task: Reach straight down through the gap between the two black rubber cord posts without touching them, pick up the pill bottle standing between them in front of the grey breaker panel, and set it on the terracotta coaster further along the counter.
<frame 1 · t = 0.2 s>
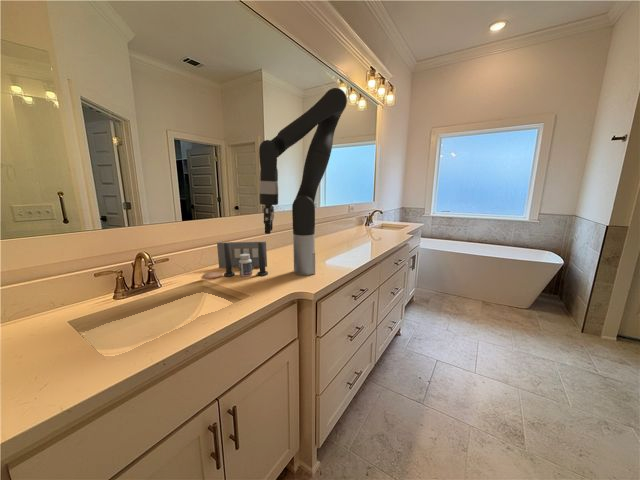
hand: (268, 232, 107), 18 cm above the counter, tool pointing down, fingers open, 8 cm apart
post 2: (262, 274, 110), on the counter
post 1: (229, 275, 109), on the counter
panel: (243, 267, 120), on the counter
pill bottle: (246, 275, 109), on the counter
coaster: (212, 275, 108), on the counter
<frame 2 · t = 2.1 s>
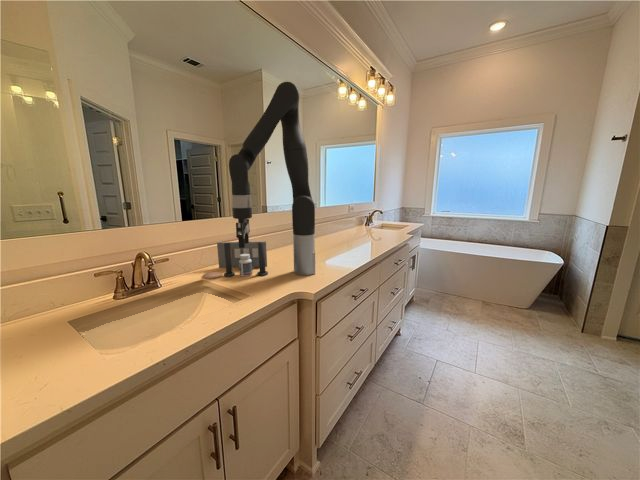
hand: (244, 245, 107), 13 cm above the counter, tool pointing down, fingers open, 8 cm apart
nothing on the counter moved.
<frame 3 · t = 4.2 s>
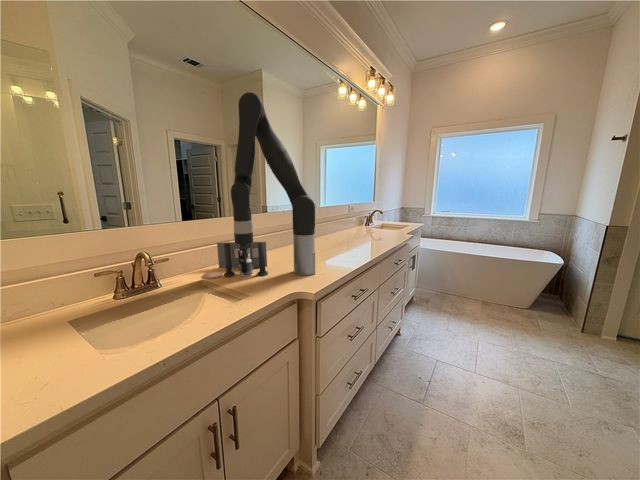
hand: (245, 270, 109), 2 cm above the counter, tool pointing down, fingers closed on pill bottle, 5 cm apart
pill bottle: (246, 275, 109), on the counter, touching gripper
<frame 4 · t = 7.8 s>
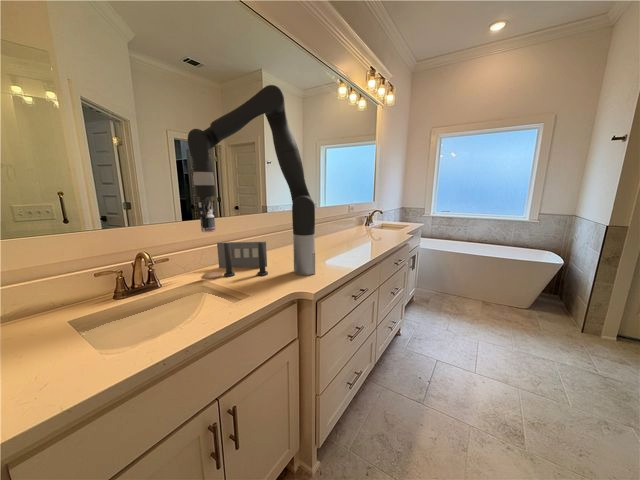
hand: (208, 226, 104), 21 cm above the counter, tool pointing down, fingers closed on pill bottle, 5 cm apart
pill bottle: (208, 231, 104), point 19 cm above the counter, touching gripper
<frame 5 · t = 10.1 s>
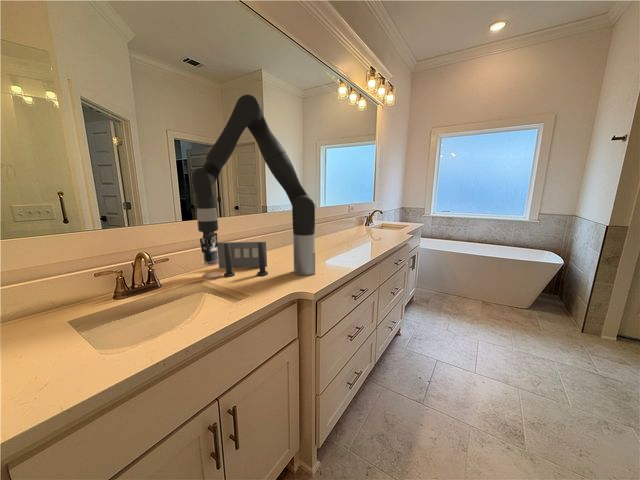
hand: (211, 259, 107), 7 cm above the counter, tool pointing down, fingers closed on pill bottle, 5 cm apart
pill bottle: (211, 264, 107), point 5 cm above the counter, touching gripper
when the fingers open (4 cm above the counter, at t = 11.8 s): pill bottle drops 1 cm, resting on coaster.
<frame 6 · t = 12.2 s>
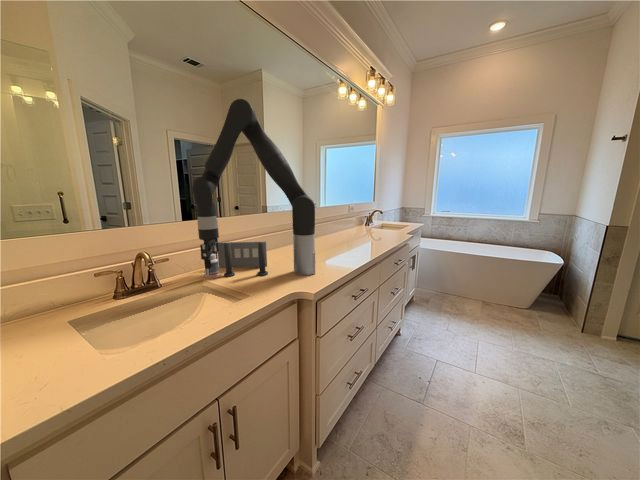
hand: (211, 265, 107), 5 cm above the counter, tool pointing down, fingers open, 8 cm apart
pill bottle: (212, 275, 108), resting on coaster
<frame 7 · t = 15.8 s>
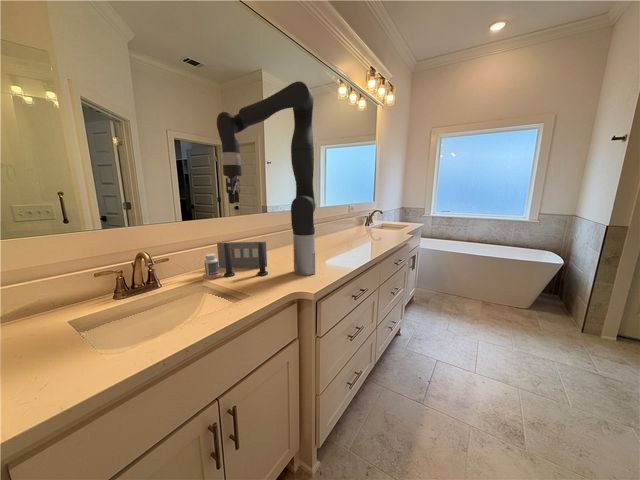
hand: (234, 202, 112), 30 cm above the counter, tool pointing down, fingers open, 8 cm apart
nothing on the counter moved.
at the end: pill bottle 0.1 cm off-centre on the coaster, point 0.2 cm above the coaster's base; pill bottle tilted 0°; the gripper is holding nothing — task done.
